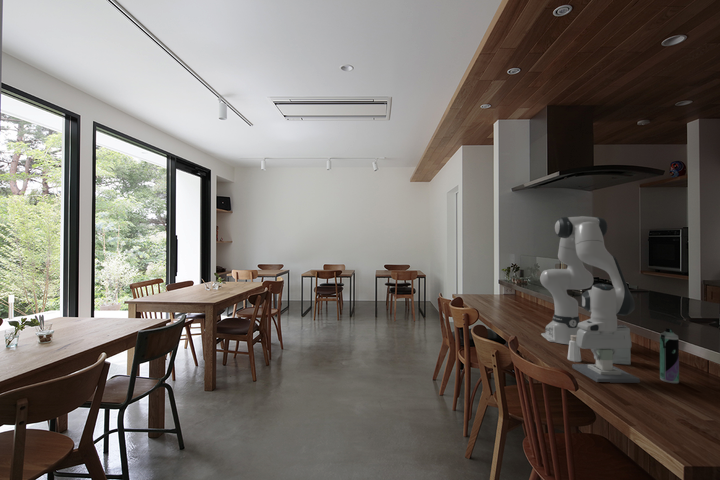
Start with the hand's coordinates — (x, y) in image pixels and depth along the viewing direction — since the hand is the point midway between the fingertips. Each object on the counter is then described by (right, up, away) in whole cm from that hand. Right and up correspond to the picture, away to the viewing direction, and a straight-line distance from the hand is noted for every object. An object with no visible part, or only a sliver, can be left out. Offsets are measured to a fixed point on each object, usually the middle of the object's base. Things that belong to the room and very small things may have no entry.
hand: (603, 359), depth 142 cm
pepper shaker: (-1, -7, +18) cm, 19 cm away
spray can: (+21, -6, -6) cm, 23 cm away
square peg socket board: (0, -6, 0) cm, 6 cm away
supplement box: (+17, -7, +16) cm, 24 cm away
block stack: (0, -4, 0) cm, 4 cm away
